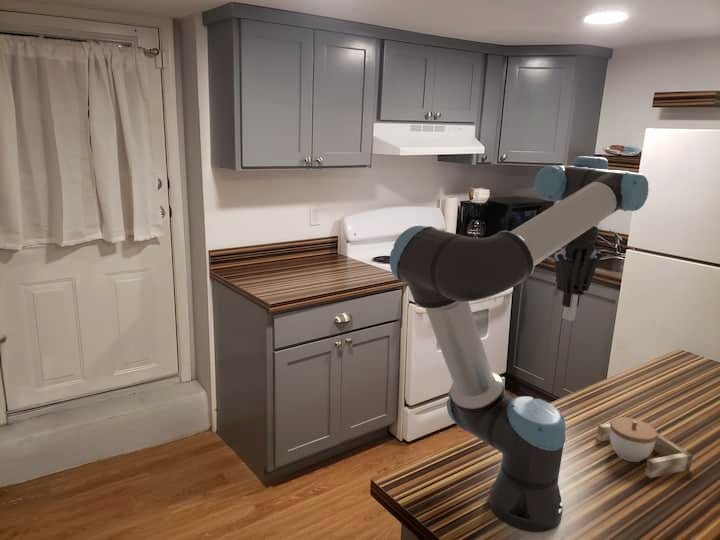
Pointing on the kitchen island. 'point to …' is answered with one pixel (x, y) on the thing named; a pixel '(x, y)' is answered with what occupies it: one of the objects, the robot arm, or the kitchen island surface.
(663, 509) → the kitchen island surface
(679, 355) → the kitchen island surface
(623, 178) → the robot arm
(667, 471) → the birch dock
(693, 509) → the kitchen island surface
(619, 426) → the lidded jar
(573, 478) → the kitchen island surface
